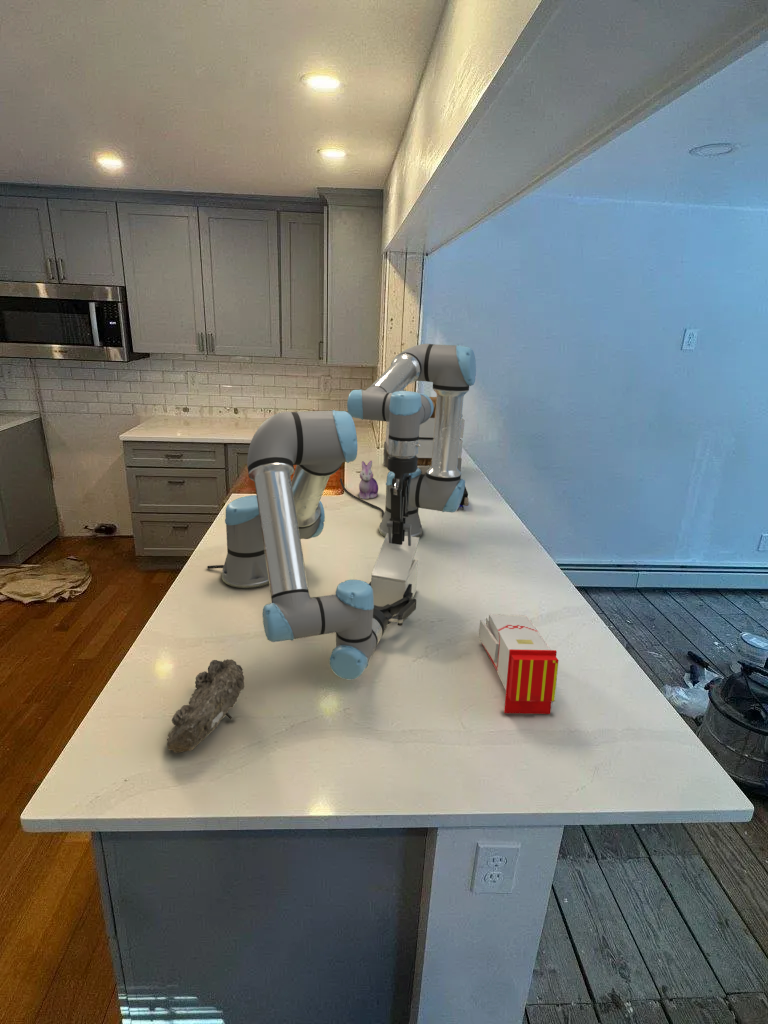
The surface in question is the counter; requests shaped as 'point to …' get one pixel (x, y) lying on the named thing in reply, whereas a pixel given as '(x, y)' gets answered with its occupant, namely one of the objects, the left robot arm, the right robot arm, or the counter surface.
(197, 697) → the fossil
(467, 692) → the counter surface
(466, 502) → the figurine character
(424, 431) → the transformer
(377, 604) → the chest
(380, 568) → the lid
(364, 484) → the figurine
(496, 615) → the toy
